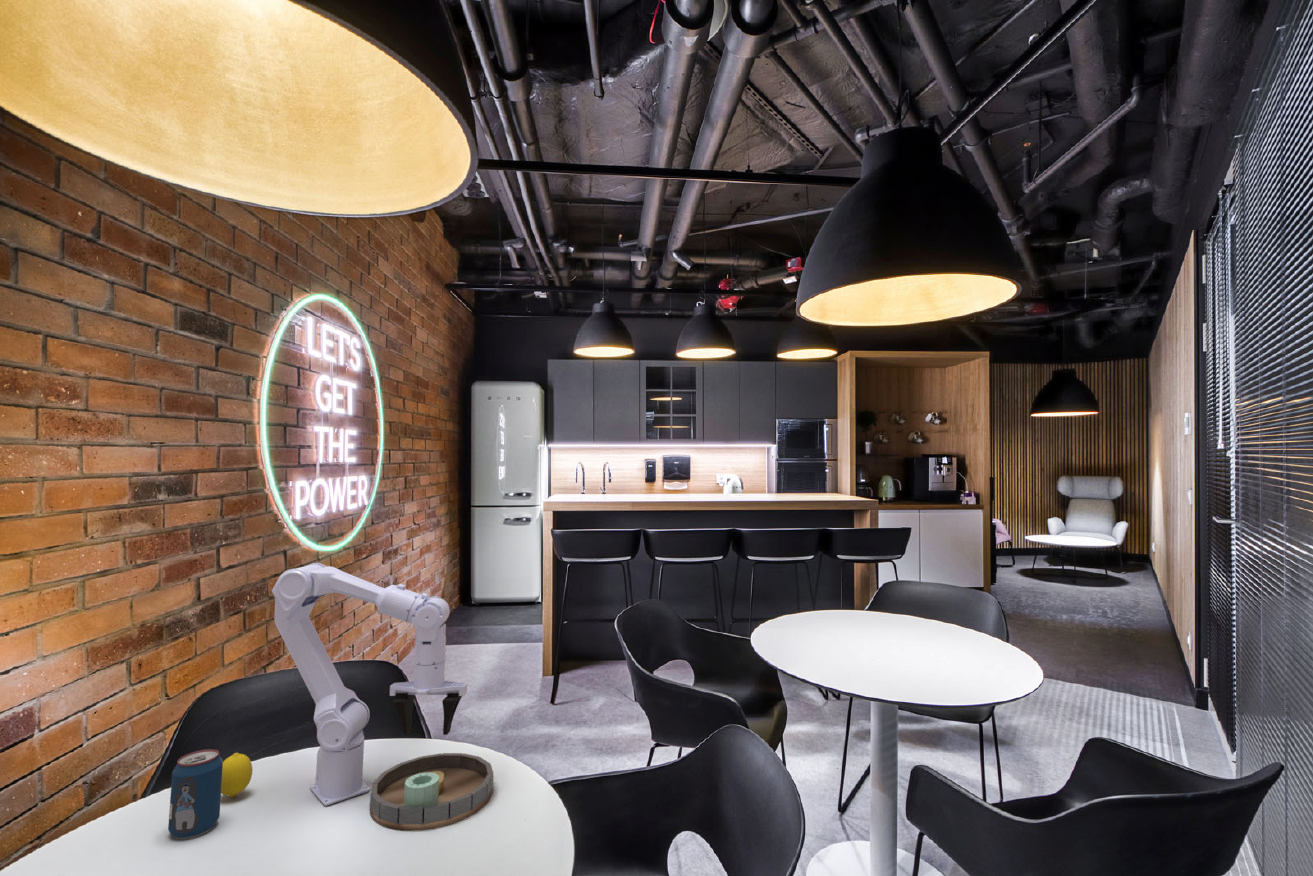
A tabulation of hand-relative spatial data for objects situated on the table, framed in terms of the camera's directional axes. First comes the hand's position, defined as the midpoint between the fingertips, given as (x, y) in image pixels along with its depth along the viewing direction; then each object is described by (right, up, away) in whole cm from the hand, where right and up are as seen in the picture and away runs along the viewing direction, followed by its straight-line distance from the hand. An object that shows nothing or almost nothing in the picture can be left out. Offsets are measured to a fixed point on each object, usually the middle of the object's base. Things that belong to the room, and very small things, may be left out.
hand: (427, 732), depth 117 cm
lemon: (-35, -10, -5) cm, 36 cm away
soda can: (-34, -9, -15) cm, 38 cm away
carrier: (+3, -10, -4) cm, 11 cm away
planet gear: (+3, -9, -10) cm, 14 cm away
